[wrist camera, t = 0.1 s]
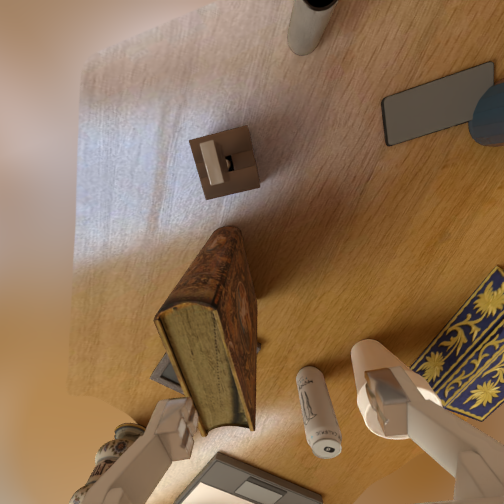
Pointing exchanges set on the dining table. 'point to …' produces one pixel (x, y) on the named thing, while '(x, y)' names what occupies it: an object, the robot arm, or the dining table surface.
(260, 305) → the dining table surface
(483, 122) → the grey coffee mug
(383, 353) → the cup
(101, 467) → the apothecary jar
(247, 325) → the book
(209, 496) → the laptop
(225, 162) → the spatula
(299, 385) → the energy drink can
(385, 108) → the smartphone
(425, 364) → the decorative box
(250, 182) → the utensil block
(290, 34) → the grey hollow cylinder
